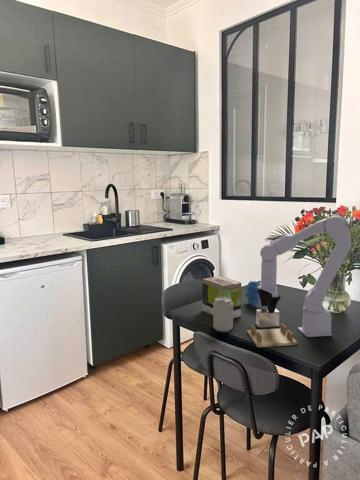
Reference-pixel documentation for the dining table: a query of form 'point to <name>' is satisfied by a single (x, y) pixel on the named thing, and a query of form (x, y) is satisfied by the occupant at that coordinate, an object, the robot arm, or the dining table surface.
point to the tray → (272, 337)
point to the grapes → (252, 293)
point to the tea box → (221, 293)
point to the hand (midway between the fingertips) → (267, 309)
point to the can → (223, 314)
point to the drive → (267, 318)
